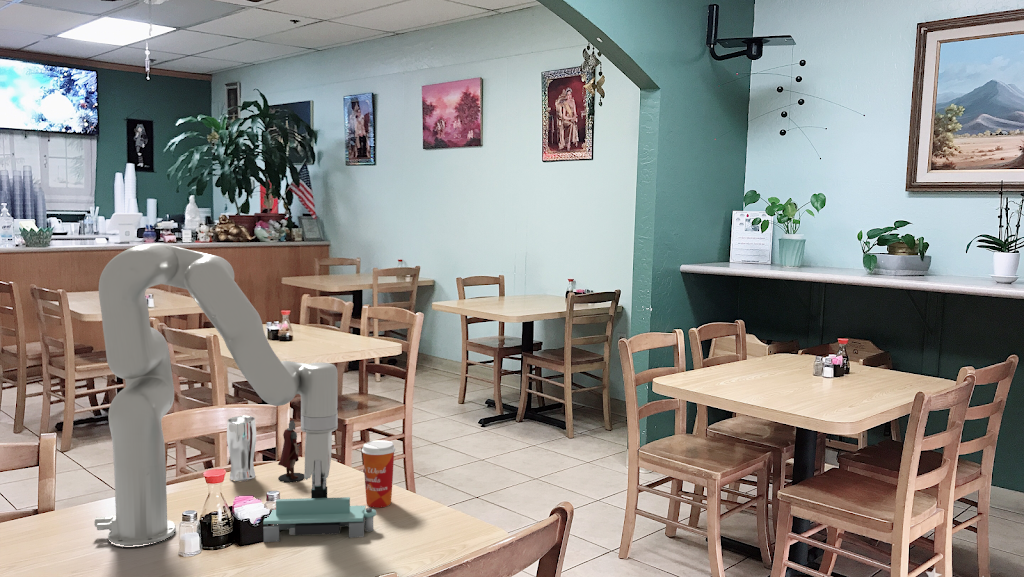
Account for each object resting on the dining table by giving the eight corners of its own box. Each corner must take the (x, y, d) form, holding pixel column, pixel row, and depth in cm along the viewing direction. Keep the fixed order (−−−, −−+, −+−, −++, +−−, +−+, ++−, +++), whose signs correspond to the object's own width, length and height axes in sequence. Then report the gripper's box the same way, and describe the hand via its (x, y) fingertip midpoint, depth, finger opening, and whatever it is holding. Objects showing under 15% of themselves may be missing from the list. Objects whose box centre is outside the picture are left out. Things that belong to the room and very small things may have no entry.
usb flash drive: (289, 535, 163) (289, 526, 163) (291, 530, 166) (291, 521, 165) (339, 534, 164) (339, 524, 164) (340, 529, 167) (340, 520, 166)
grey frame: (263, 542, 159) (263, 526, 159) (268, 528, 166) (268, 513, 166) (373, 536, 163) (373, 521, 163) (373, 523, 170) (373, 508, 170)
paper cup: (355, 505, 180) (354, 445, 178) (375, 495, 187) (375, 437, 185) (382, 512, 176) (382, 451, 175) (402, 501, 183) (402, 442, 182)
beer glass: (222, 478, 197) (220, 420, 195) (245, 471, 202) (244, 414, 201) (239, 484, 193) (238, 424, 191) (262, 476, 198) (261, 418, 197)
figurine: (310, 478, 197) (309, 420, 196) (283, 485, 193) (282, 425, 191) (297, 471, 202) (297, 414, 201) (271, 478, 197) (270, 419, 196)
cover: (263, 524, 160) (263, 506, 160) (270, 511, 167) (269, 494, 167) (375, 520, 163) (375, 503, 162) (377, 508, 170) (377, 491, 169)
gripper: (304, 413, 172) (304, 494, 174) (297, 432, 158) (297, 520, 159) (339, 412, 174) (338, 493, 175) (335, 431, 159) (335, 518, 161)
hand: (319, 505), depth 167 cm, fingers closed
